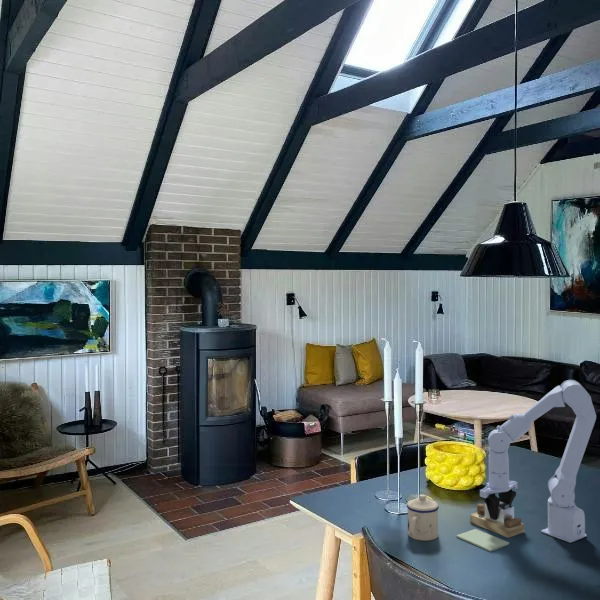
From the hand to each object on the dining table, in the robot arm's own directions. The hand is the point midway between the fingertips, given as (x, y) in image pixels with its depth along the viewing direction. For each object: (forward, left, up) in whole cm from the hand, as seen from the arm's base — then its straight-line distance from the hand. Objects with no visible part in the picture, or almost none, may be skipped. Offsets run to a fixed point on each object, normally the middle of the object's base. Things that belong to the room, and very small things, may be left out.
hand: (499, 516), depth 184 cm
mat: (-3, +11, -3) cm, 12 cm away
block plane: (+1, 0, -3) cm, 4 cm away
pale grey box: (0, 0, -1) cm, 1 cm away
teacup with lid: (+9, +23, -4) cm, 25 cm away
